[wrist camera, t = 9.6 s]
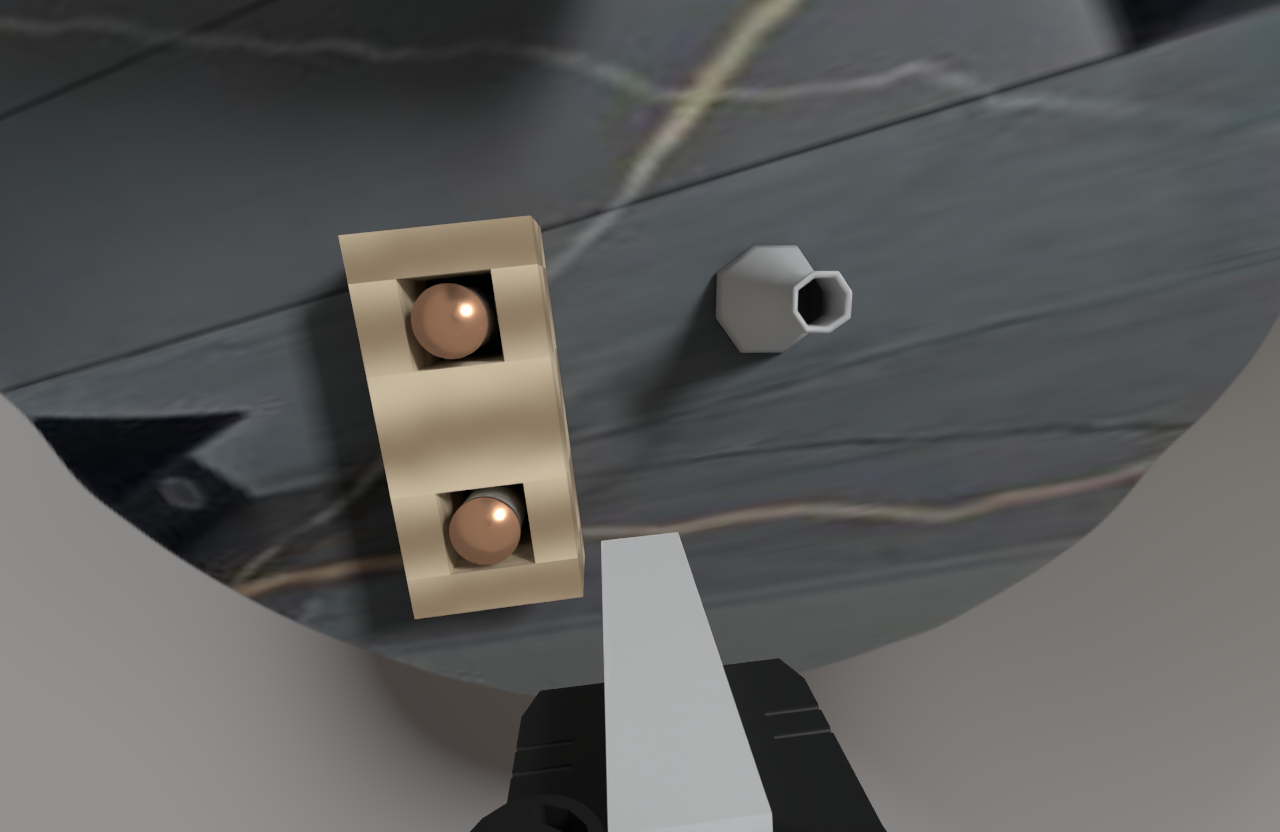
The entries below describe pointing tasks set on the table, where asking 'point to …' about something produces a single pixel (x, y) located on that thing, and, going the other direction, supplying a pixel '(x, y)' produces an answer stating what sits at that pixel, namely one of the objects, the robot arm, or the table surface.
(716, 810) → the robot arm
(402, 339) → the oak block
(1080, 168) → the table surface
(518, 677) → the table surface
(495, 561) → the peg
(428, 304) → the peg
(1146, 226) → the table surface
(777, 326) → the flask
